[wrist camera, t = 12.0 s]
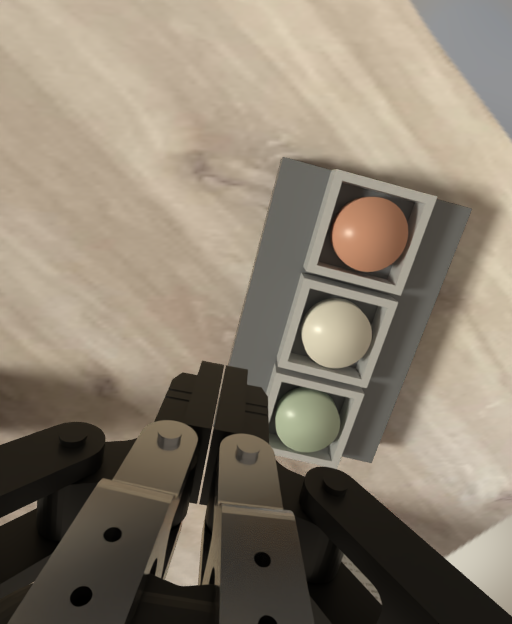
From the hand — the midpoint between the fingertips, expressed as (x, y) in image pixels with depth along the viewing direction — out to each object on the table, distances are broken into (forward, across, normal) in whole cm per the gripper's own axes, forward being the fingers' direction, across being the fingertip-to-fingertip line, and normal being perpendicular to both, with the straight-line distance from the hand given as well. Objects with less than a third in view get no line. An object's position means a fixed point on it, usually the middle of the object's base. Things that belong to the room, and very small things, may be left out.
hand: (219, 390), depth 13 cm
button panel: (+22, -8, +3) cm, 23 cm away
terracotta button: (+18, -8, -4) cm, 20 cm away
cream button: (+18, -8, +3) cm, 20 cm away
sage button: (+17, -7, +11) cm, 22 cm away
